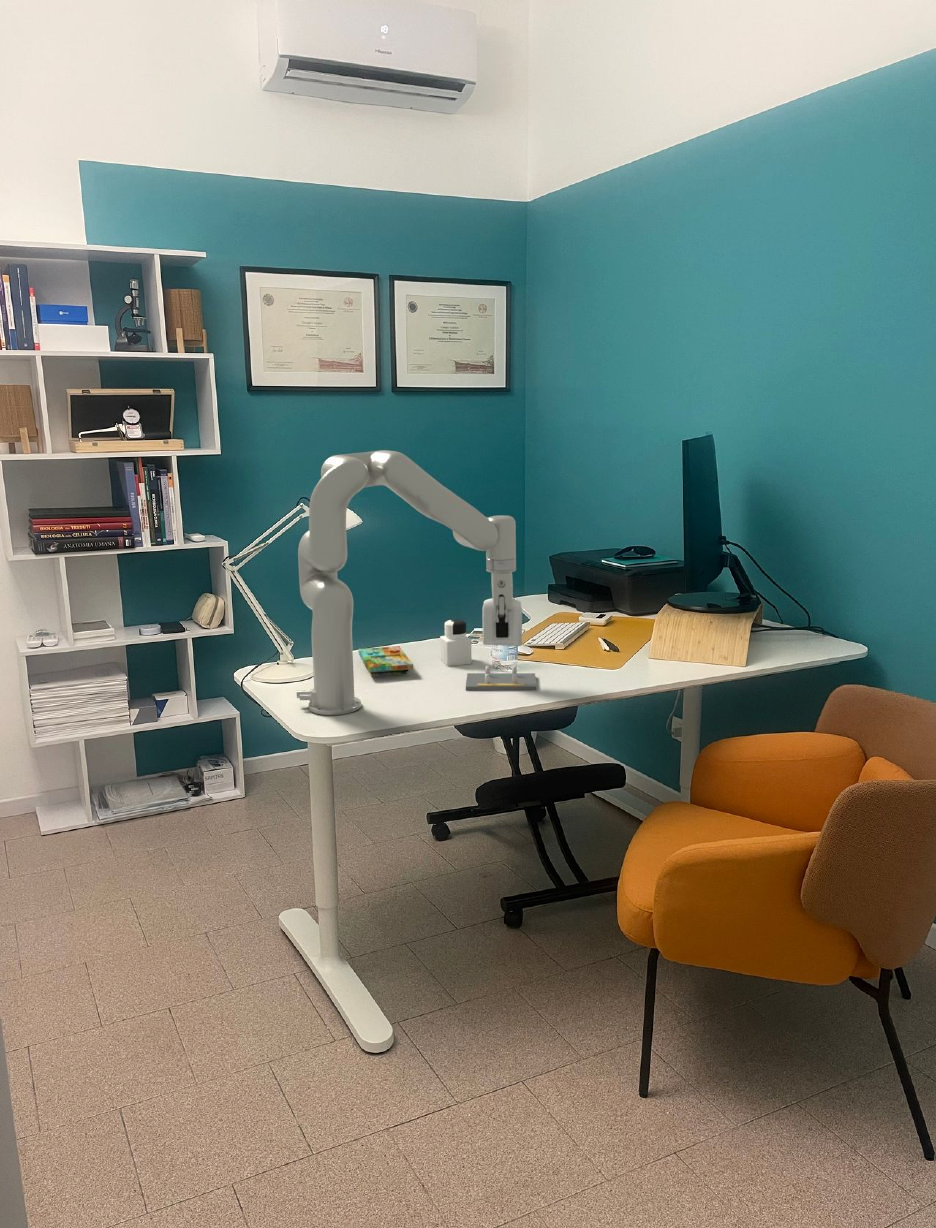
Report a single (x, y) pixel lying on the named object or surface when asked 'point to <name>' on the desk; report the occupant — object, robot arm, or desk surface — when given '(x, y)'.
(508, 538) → the robot arm
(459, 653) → the medicine bottle
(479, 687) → the pin tray
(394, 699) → the desk surface
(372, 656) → the puzzle game
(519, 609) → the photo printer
